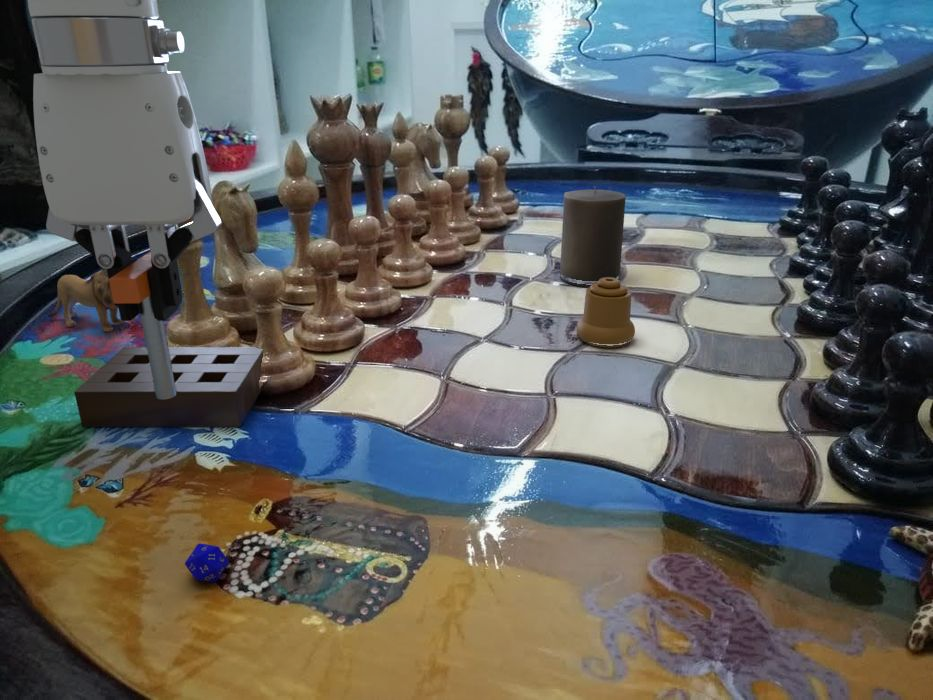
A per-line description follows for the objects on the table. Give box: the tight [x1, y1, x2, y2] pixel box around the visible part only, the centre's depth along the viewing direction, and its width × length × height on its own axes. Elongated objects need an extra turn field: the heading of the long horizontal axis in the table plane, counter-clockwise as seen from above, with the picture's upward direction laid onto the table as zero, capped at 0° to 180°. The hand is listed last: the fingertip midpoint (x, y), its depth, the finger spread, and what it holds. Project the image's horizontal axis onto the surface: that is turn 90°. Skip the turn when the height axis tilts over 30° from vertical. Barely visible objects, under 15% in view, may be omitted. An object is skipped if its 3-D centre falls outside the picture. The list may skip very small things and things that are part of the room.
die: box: [184, 543, 230, 583], centre depth 53 cm, size 3×3×3 cm
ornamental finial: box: [576, 277, 636, 349], centre depth 94 cm, size 8×8×8 cm
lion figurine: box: [46, 268, 124, 333], centre depth 99 cm, size 15×5×9 cm, turn 79°
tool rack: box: [74, 346, 266, 428], centre depth 78 cm, size 11×16×4 cm
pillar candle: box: [559, 185, 627, 288], centre depth 117 cm, size 10×10×15 cm
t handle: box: [109, 251, 176, 400], centre depth 56 cm, size 2×7×11 cm, turn 0°
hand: (151, 313), depth 55 cm, fingers closed on t handle, 1 cm apart
